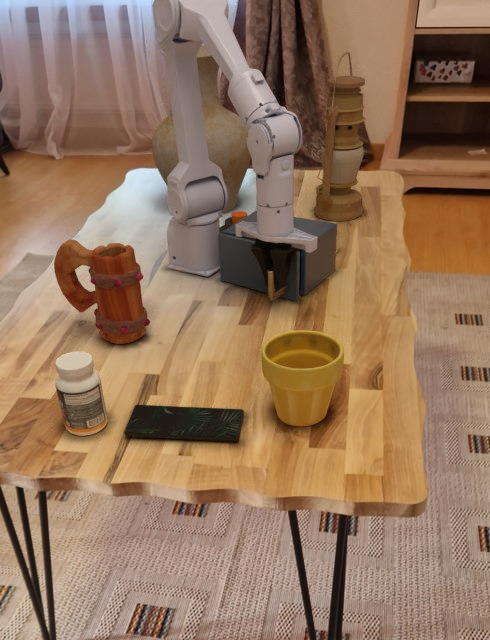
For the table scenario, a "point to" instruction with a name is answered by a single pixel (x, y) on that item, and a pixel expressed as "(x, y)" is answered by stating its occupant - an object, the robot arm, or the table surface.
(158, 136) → the vase
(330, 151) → the lantern
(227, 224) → the control block
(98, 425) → the pill bottle
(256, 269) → the grey piece
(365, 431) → the table surface
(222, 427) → the smartphone
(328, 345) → the flower pot
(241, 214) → the release button
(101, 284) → the mug
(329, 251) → the grey cabinet
